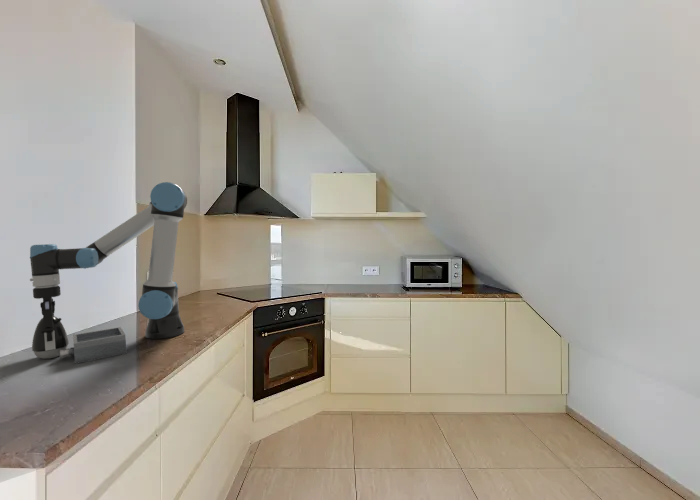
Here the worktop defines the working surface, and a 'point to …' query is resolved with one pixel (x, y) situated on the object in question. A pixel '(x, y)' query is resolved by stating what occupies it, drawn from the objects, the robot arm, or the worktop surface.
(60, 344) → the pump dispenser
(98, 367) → the worktop surface
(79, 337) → the block
